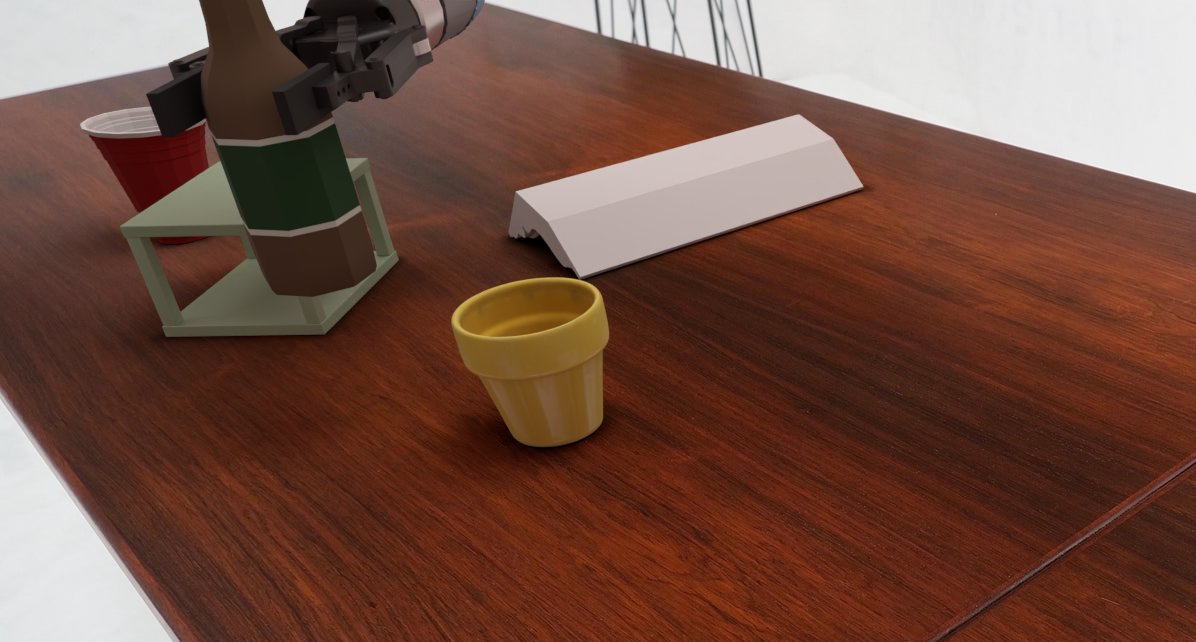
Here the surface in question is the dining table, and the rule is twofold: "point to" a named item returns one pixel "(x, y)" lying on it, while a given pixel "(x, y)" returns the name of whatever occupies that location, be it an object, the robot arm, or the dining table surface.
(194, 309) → the rack
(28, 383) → the dining table surface
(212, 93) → the beer bottle
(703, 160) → the molding piece
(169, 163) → the plastic cup
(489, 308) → the flower pot
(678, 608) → the dining table surface
